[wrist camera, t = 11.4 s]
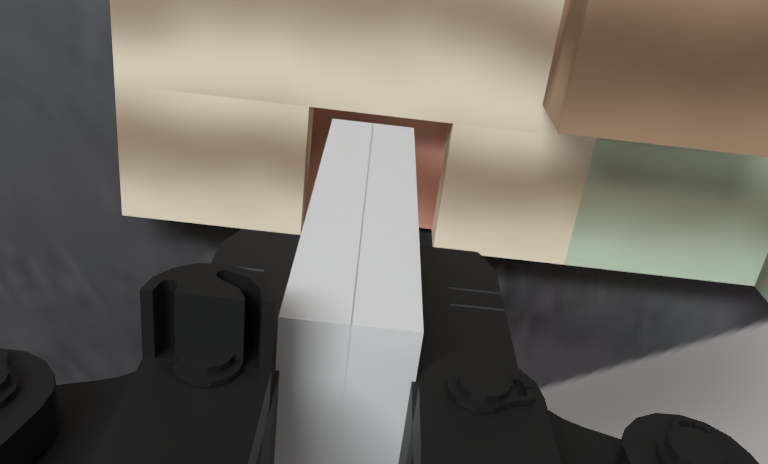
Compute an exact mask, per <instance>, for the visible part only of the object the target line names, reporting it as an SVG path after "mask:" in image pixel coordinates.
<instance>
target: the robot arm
mask: <svg viewBox="0 0 768 464" xmlns="http://www.w3.org/2000/svg"><path fill="white" fill-rule="evenodd" d="M140 303H141V326H142V348H143V359H142V361H141V363H140V365H139V366H138V368H137V370H136V371H135V372H132V373H129V374H126V375H123V376H120V377H116V378H110V379H105V380H99V381H90V382H81V383H72V384H63V385H56V382H55V374H54V373H53V371H52V370H51V368H50V367H49V365H48V364H47V363H46V361H45V360H43V359H41V358H39V357H36V356H34V355H32V354H30V353H28V352H24V351H17V350H9V349H0V464H759V463H758V462H757V461H756V460H755V459H754V457H753V456H752V455H751V454H750V453H749V452H747V451H746V450H745V449H744V448H743V447H742V446H740V445H739V444H738V443H737V442H736V441H734V440H733V439H732V438H731V437H730V436H728V435H726V434H724V433H723V432H721V431H719V430H717V429H715V428H714V427H712V426H710V425H708V424H706V423H704V422H701V421H697V420H694V419H691V418H687V417H685V416H681V415H673V414H660V413H655V414H650V415H646V416H643V417H638V418H636V419H635V420H634V421H633V422H632V423H631V424H630V425H629V426H628V427H626V428H625V430H624V433H623V436H622V439H618V438H614V437H612V436H609V435H606V434H603V433H599V432H596V431H593V430H590V429H587V428H584V427H581V426H579V425H577V424H574V423H572V422H569V421H567V420H564V419H562V418H561V417H559V416H557V415H556V414H554V413H552V412H550V411H549V410H547V406H546V402H545V399H544V397H543V395H542V393H541V391H540V389H539V387H538V386H537V384H536V382H535V381H533V380H532V379H531V378H530V377H529V376H527V375H526V374H525V373H524V372H523V371H522V370H520V369H519V368H518V365H517V361H516V357H515V353H514V348H513V344H512V340H511V335H510V331H509V327H508V322H507V318H506V314H505V311H504V305H503V301H502V297H501V294H500V288H499V284H498V279H497V275H496V271H495V270H494V268H493V267H492V266H491V265H490V264H489V263H488V262H487V261H486V260H485V259H484V258H483V257H482V256H481V255H480V254H479V253H478V252H474V251H465V250H456V249H447V248H438V247H428V246H420V243H419V222H418V201H417V180H416V159H415V138H414V128H411V127H402V126H393V125H384V124H376V123H367V122H358V121H349V120H341V119H332V122H331V126H330V130H329V133H328V137H327V141H326V144H325V148H324V152H323V155H322V159H321V163H320V166H319V170H318V174H317V177H316V181H315V185H314V188H313V192H312V196H311V199H310V203H309V207H308V210H307V214H306V218H305V221H304V225H303V229H302V232H301V235H296V234H286V233H277V232H268V231H259V230H250V229H241V230H240V231H238V232H237V233H235V234H234V235H232V236H231V237H229V238H228V239H226V240H225V241H223V242H222V243H220V246H219V248H218V250H217V252H216V254H215V256H214V258H213V260H212V263H211V264H203V263H197V264H192V265H186V266H181V267H176V268H172V269H170V270H167V271H165V272H163V273H161V274H158V275H156V276H154V277H152V278H151V279H150V280H149V281H148V282H147V283H146V284H145V285H144V286H143V287H142V288H141V289H140Z"/></svg>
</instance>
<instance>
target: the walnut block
mask: <svg viewBox="0 0 768 464" xmlns="http://www.w3.org/2000/svg"><path fill="white" fill-rule="evenodd" d="M543 107H544V108H545V110H546V112H547V114H548V116H549V117H550V119H551V121H552V123H553V125H554V126H555V128H556V130H557V132H558V133H560V134H569V135H578V136H586V137H595V138H604V139H613V140H621V141H630V142H639V143H648V144H656V145H665V146H674V147H683V148H691V149H700V150H709V151H717V152H726V153H735V154H744V155H752V156H761V157H768V0H565V2H564V7H563V12H562V16H561V21H560V26H559V30H558V35H557V40H556V44H555V49H554V54H553V58H552V63H551V68H550V72H549V77H548V82H547V86H546V91H545V95H544V100H543Z"/></svg>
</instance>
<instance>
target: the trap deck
mask: <svg viewBox="0 0 768 464" xmlns="http://www.w3.org/2000/svg"><path fill="white" fill-rule="evenodd" d="M564 2H565V0H110V13H111V30H112V47H113V65H114V82H115V100H116V117H117V135H118V152H119V169H120V187H121V204H122V215H125V216H134V217H143V218H152V219H161V220H169V221H178V222H187V223H196V224H205V225H214V226H223V227H232V228H241V229H250V230H259V231H268V232H277V233H286V234H296V235H301V232H302V228H303V225H304V221H305V218H306V214H307V210H308V207H309V203H310V199H311V196H312V192H313V188H314V185H315V181H316V177H317V174H318V170H319V166H320V163H321V159H322V155H323V152H324V148H325V144H326V141H327V137H328V133H329V130H330V126H331V122H332V119H341V120H349V121H358V122H367V123H376V124H384V125H393V126H402V127H411V128H414V138H415V159H416V180H417V201H418V222H419V228H426V229H432V245H433V247H438V248H447V249H456V250H465V251H474V252H478V253H479V254H480V255H481V256H490V257H499V258H508V259H517V260H526V261H535V262H544V263H552V264H561V265H570V266H579V267H588V268H597V269H606V270H615V271H624V272H633V273H642V274H650V275H659V276H668V277H677V278H686V279H695V280H704V281H713V282H722V283H731V284H740V285H748V286H755V288H756V289H757V290H758V291H759V292H760V294H761V295H762V296H763V297H764V299H765V300H766V301H767V302H768V157H761V156H752V155H744V154H735V153H726V152H717V151H709V150H700V149H691V148H683V147H674V146H665V145H656V144H648V143H639V142H630V141H621V140H613V139H604V138H595V137H586V136H578V135H569V134H560V133H558V132H557V130H556V128H555V126H554V125H553V123H552V121H551V119H550V117H549V116H548V114H547V112H546V110H545V108H544V107H543V100H544V95H545V91H546V86H547V82H548V77H549V72H550V68H551V63H552V58H553V54H554V49H555V44H556V40H557V35H558V30H559V26H560V21H561V16H562V12H563V7H564Z"/></svg>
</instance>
